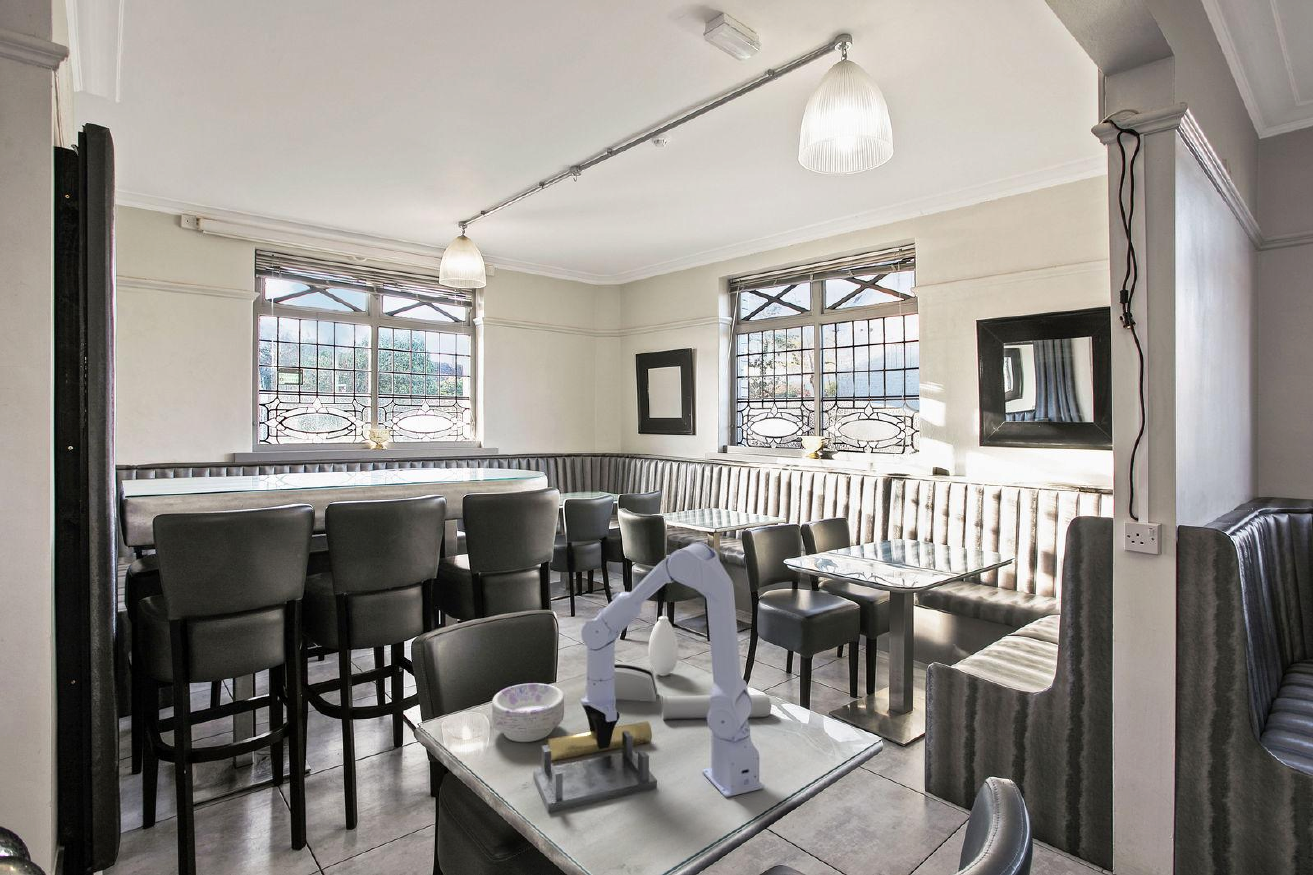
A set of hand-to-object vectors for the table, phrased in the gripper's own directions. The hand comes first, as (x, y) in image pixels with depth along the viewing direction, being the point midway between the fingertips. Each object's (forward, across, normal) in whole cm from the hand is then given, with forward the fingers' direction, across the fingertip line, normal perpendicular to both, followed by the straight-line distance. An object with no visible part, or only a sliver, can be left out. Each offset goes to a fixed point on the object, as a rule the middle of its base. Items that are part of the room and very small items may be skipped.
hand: (600, 742), depth 135 cm
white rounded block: (+2, -23, +13) cm, 26 cm away
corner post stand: (+1, +12, -5) cm, 13 cm away
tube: (+2, -5, +29) cm, 30 cm away
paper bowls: (+2, -13, -12) cm, 18 cm away
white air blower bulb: (+2, -33, +28) cm, 43 cm away
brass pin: (+2, 0, 0) cm, 2 cm away
